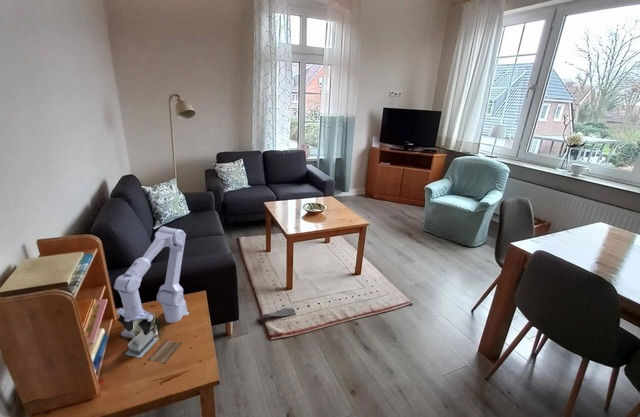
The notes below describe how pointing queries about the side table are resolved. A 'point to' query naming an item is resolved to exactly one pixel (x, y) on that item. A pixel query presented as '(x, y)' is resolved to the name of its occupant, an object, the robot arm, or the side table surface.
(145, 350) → the bluegrey stand
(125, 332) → the stone block
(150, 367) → the side table surface
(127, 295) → the robot arm
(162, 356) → the walnut stand
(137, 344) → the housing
